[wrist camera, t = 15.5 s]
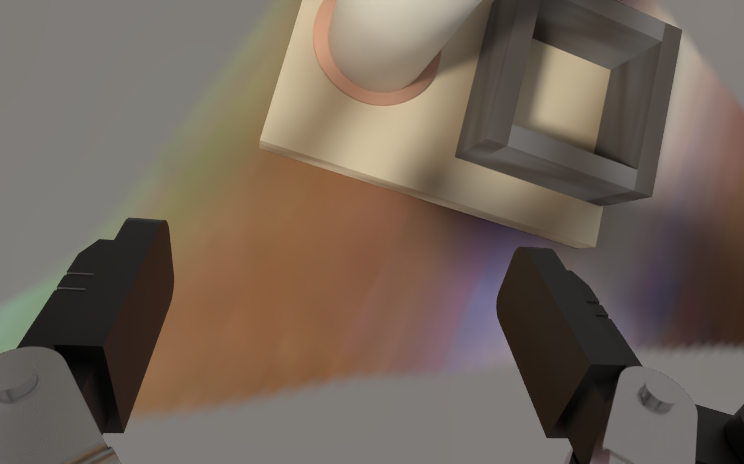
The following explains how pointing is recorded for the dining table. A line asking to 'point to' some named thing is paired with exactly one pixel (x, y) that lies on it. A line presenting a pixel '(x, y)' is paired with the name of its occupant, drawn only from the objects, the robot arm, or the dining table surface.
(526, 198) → the socket board
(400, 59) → the cylinder
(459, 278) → the dining table surface
